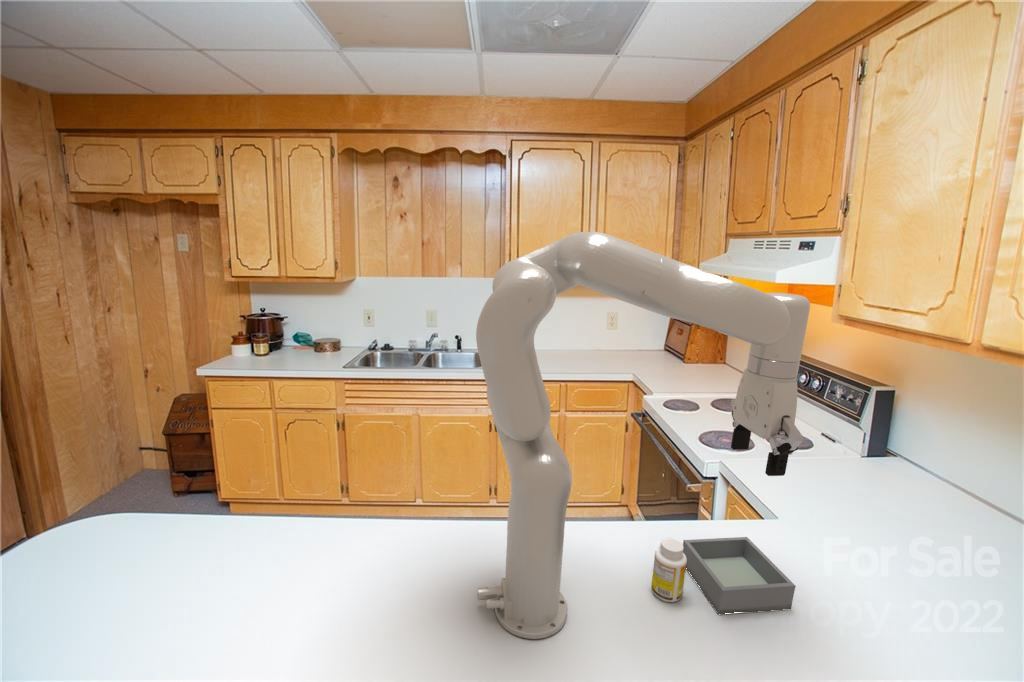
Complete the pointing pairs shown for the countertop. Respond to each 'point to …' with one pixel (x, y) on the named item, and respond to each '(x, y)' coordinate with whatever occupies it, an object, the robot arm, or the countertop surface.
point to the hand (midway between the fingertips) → (756, 461)
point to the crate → (737, 575)
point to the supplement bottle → (669, 570)
